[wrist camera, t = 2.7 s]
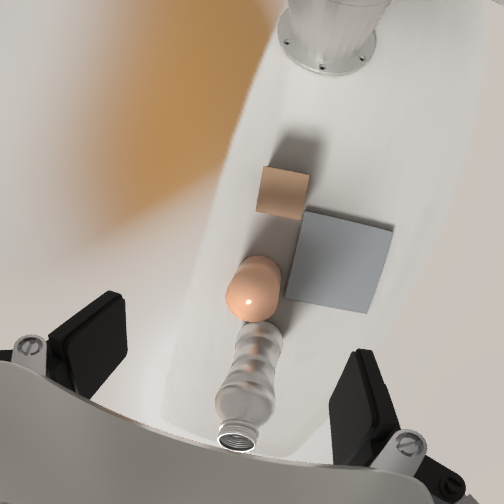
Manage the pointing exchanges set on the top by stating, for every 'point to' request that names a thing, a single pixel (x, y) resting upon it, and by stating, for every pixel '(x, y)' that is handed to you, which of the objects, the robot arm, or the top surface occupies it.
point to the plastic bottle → (249, 386)
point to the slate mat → (337, 262)
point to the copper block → (282, 192)
